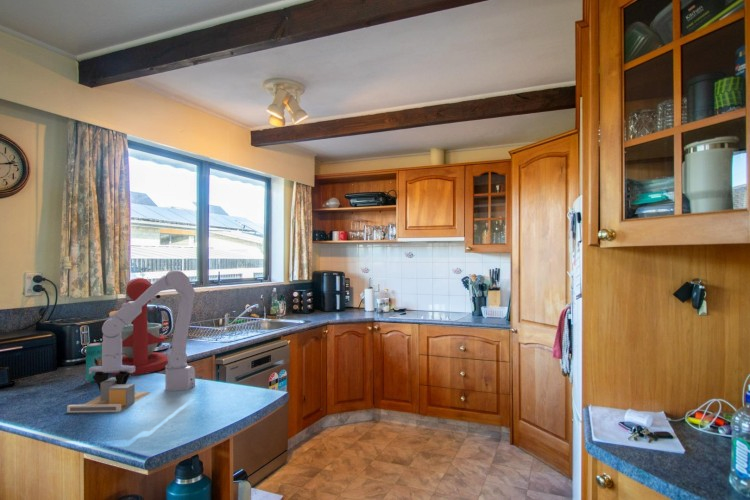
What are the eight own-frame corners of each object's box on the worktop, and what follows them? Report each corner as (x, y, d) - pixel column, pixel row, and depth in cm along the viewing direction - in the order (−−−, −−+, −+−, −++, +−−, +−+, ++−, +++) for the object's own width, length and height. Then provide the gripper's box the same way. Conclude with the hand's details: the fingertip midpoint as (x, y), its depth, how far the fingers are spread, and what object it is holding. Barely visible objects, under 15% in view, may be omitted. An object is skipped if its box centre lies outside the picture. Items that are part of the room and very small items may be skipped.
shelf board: (151, 395, 142) (151, 392, 142) (119, 415, 124) (119, 411, 124) (105, 396, 142) (105, 392, 142) (67, 416, 124) (67, 412, 124)
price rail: (121, 410, 125) (121, 403, 125) (119, 411, 124) (119, 405, 124) (69, 411, 125) (69, 404, 125) (66, 412, 124) (66, 406, 124)
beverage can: (94, 384, 155) (94, 345, 156) (82, 383, 156) (82, 345, 157) (107, 380, 161) (107, 342, 161) (95, 379, 162) (95, 342, 162)
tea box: (112, 400, 134) (112, 382, 134) (100, 400, 134) (100, 382, 134) (123, 394, 140) (123, 377, 140) (111, 394, 140) (111, 377, 140)
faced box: (134, 402, 132) (134, 384, 132) (126, 407, 128) (126, 388, 128) (116, 402, 132) (116, 384, 132) (107, 407, 128) (107, 388, 128)
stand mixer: (165, 356, 200) (165, 276, 201) (173, 370, 174) (173, 278, 175) (108, 363, 187) (108, 277, 188) (107, 380, 161) (107, 280, 162)
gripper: (140, 350, 141) (140, 389, 141) (98, 351, 141) (98, 390, 141) (128, 355, 134) (128, 396, 134) (84, 356, 134) (84, 397, 134)
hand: (112, 393), depth 137 cm, fingers open, 5 cm apart
